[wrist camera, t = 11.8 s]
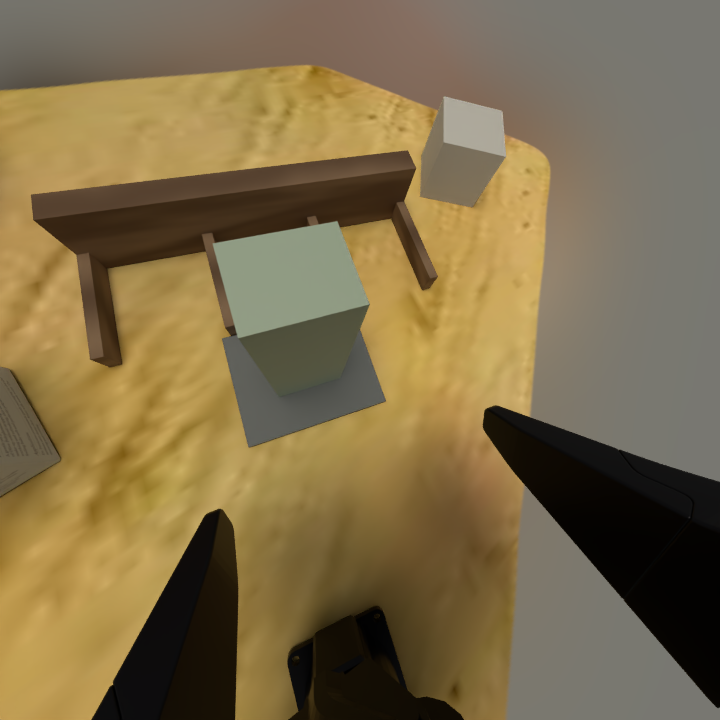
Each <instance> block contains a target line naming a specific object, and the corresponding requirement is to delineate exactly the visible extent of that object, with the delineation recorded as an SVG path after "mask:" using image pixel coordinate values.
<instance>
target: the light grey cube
mask: <svg viewBox="0 0 720 720" xmlns="http://www.w3.org/2000/svg"><path fill="white" fill-rule="evenodd" d="M505 157H506V151H505V139H504V127H503V114H502V111H500V110H496V109H492V108H488V107H485V106H480V105H477V104H473V103H468V102H464V101H461V100H456V99H453V98H449V97H445V96H444V97H443V100H442V103H441V105H440V108H439V110H438V113H437V116H436V118H435V121H434V124H433V126H432V129H431V132H430V134H429V137H428V140H427V142H426V145H425V148H424V150H423V153H422V157H421V187H420V197H424V198H429V199H434V200H439V201H443V202H448V203H453V204H458V205H463V206H468V207H473V205H474V204H475V202H476V201H477V199H478V198H479V196H480V195H481V193H482V192H483V190H484V189H485V187H486V186H487V184H488V183H489V181H490V180H491V178H492V177H493V175H494V174H495V172H496V171H497V169H498V168H499V166H500V165H501V163H502V162H503V160H504V159H505Z"/></svg>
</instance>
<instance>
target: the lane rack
mask: <svg viewBox="0 0 720 720" xmlns="http://www.w3.org/2000/svg"><path fill="white" fill-rule="evenodd" d="M415 170H416V167H415V165H414V163H413V161H412V158H411V156H410V154H409V152H408V150H407V151H399V152H390V153H382V154H373V155H365V156H356V157H348V158H339V159H331V160H322V161H314V162H305V163H297V164H288V165H280V166H271V167H263V168H254V169H246V170H237V171H229V172H220V173H212V174H203V175H195V176H186V177H178V178H169V179H161V180H152V181H144V182H135V183H127V184H118V185H110V186H101V187H93V188H84V189H76V190H67V191H59V192H50V193H42V194H33V195H31V200H32V210H33V220H34V221H35V222H37V223H38V224H39V225H40V226H42V227H43V228H44V229H45V230H46V231H48V232H49V233H50V234H51V235H53V236H54V237H55V238H56V239H58V240H59V241H60V242H61V243H63V244H64V245H65V246H66V247H68V248H69V249H70V250H71V251H72V252H74V253H75V254H76V255H77V262H78V270H79V278H80V285H81V293H82V301H83V308H84V316H85V323H86V331H87V339H88V346H89V354H90V360H93V361H95V362H98V363H100V364H103V365H105V366H108V367H113V366H117V365H121V364H122V362H121V355H120V349H119V342H118V336H117V330H116V323H115V317H114V311H113V304H112V298H111V291H110V285H109V279H108V272H107V268H111V267H117V266H123V265H128V264H134V263H140V262H145V261H151V260H157V259H162V258H168V257H174V256H179V255H185V254H191V253H196V252H202V251H206V253H207V257H208V261H209V265H210V269H211V273H212V277H213V281H214V285H215V289H216V293H217V297H218V301H219V305H220V309H221V313H222V317H223V321H224V325H225V328H226V329H227V331H228V332H229V333H230V335H231V336H234V335H237V333H236V329H235V325H234V321H233V318H232V314H231V310H230V307H229V303H228V299H227V295H226V292H225V288H224V284H223V281H222V277H221V273H220V269H219V266H218V262H217V258H216V255H215V251H214V247H213V243H218V242H224V241H229V240H235V239H241V238H246V237H252V236H257V235H263V234H269V233H274V232H280V231H285V230H291V229H297V228H302V227H308V226H313V225H319V224H324V223H330V222H336V221H337V222H338V224H339V227H344V226H349V225H355V224H361V223H366V222H372V221H378V220H383V219H389V218H391V219H392V221H393V224H394V226H395V228H396V231H397V233H398V235H399V238H400V240H401V242H402V245H403V247H404V249H405V251H406V254H407V256H408V258H409V261H410V263H411V265H412V268H413V270H414V272H415V275H416V277H417V279H418V282H419V284H420V286H421V289H422V290H424V289H428V288H430V287H431V285H432V284H433V283H434V281H435V280H436V279H437V277H438V276H437V274H436V271H435V269H434V267H433V265H432V262H431V260H430V258H429V256H428V254H427V251H426V249H425V247H424V245H423V242H422V240H421V238H420V236H419V234H418V231H417V229H416V227H415V225H414V223H413V220H412V218H411V216H410V214H409V211H408V209H407V207H406V205H405V203H404V200H405V197H406V194H407V192H408V189H409V186H410V184H411V181H412V178H413V176H414V173H415Z"/></svg>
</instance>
